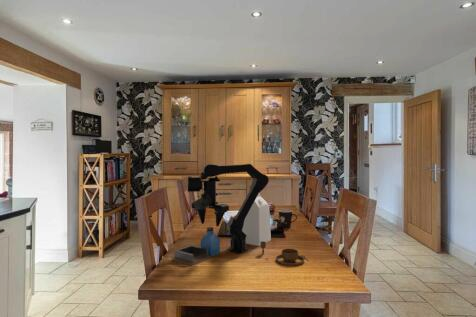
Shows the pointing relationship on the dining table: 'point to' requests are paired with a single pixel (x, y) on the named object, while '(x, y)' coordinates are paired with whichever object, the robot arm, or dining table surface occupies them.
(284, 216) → the coffee mug
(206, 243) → the perfume bottle
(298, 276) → the dining table surface
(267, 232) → the milk
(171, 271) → the dining table surface
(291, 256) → the place setting
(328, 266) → the dining table surface
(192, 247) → the grey square tray
